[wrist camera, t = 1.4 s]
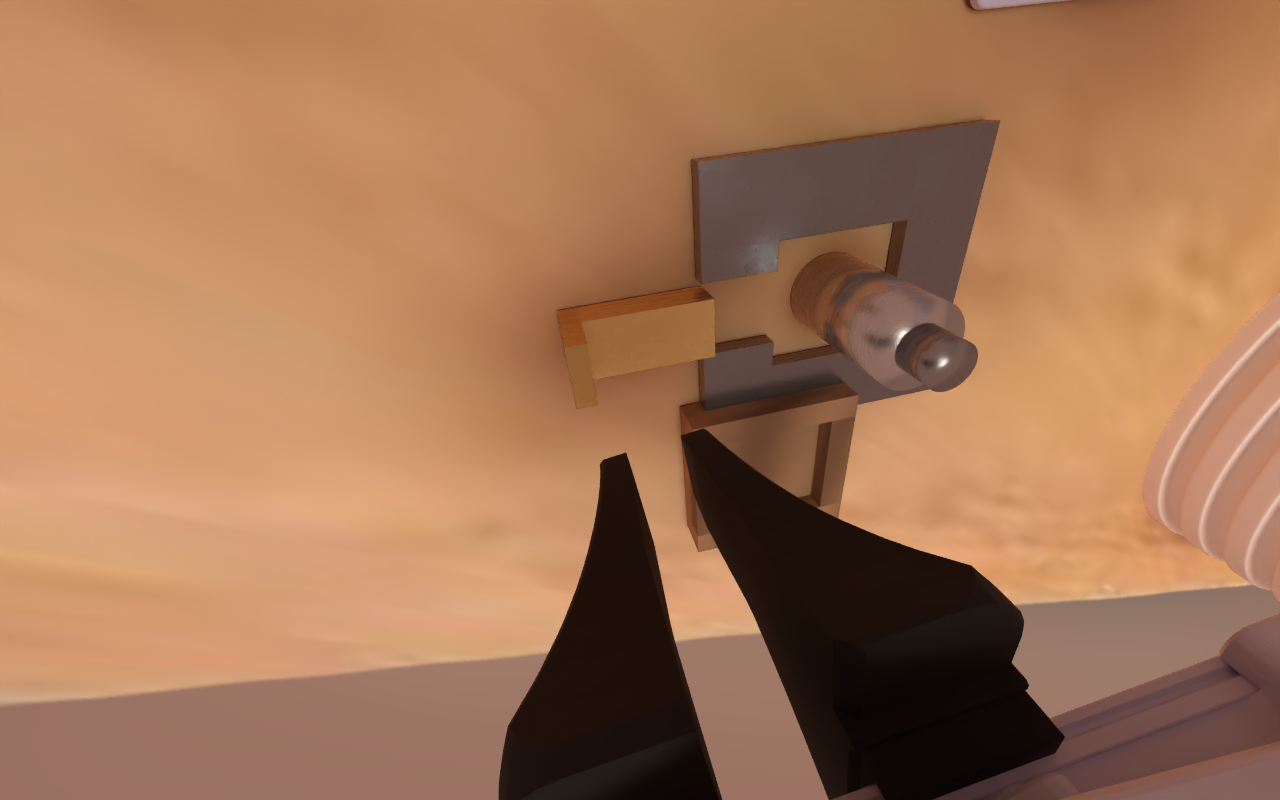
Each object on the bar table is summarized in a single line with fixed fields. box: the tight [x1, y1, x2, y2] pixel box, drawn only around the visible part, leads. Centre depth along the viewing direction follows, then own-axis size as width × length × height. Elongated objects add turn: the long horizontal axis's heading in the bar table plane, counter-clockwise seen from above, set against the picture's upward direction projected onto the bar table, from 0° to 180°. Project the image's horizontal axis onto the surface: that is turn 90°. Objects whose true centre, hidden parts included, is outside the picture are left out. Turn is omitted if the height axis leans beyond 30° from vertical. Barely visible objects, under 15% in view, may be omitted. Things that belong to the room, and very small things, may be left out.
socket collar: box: [691, 120, 1000, 411], centre depth 21 cm, size 12×12×1 cm
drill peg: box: [790, 252, 978, 392], centre depth 19 cm, size 3×3×8 cm
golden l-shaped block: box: [557, 286, 715, 409], centre depth 19 cm, size 6×2×4 cm, turn 95°
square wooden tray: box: [680, 382, 859, 552], centre depth 25 cm, size 8×8×2 cm
